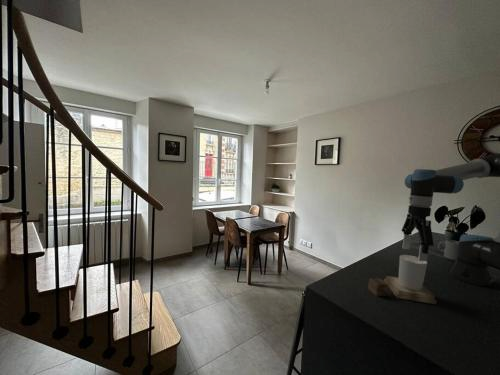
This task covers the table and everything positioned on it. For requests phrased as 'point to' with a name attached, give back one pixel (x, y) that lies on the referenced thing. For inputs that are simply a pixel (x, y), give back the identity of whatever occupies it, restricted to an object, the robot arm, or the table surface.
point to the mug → (450, 249)
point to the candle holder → (411, 272)
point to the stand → (409, 291)
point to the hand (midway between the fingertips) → (413, 254)
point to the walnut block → (377, 287)
